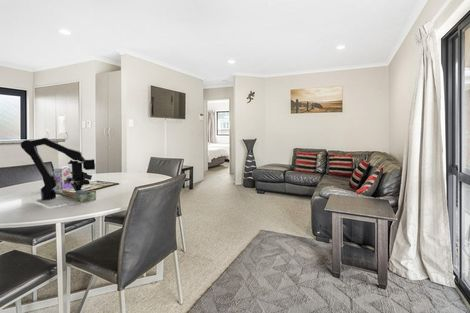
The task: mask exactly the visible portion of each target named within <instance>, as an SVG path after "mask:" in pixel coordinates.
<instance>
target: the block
mask: <svg viewBox="0 0 470 313" xmlns="http://www.w3.org/2000/svg"><path fill="white" fill-rule="evenodd" d="M87 190H88V189H83V190H78V191H75V192H76V194H79V195H86V194H88V191H87Z"/></svg>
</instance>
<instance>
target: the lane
mask: <svg viewBox="0 0 470 313" xmlns="http://www.w3.org/2000/svg"><path fill="white" fill-rule="evenodd" d="M61 190H62V195H63V196H65V197H69V198H72V199H75V200H76V201H77V202H78V203H86V202H91V201H96V200H97V196H96V195H97V191H96V190H95V189H86V190H87V191H88V194H86V195H79V194H76V191H75V192H72V191H69V190H66V189H61ZM81 190H84V189H82V188H81Z"/></svg>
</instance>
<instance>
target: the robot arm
mask: <svg viewBox="0 0 470 313" xmlns="http://www.w3.org/2000/svg"><path fill="white" fill-rule="evenodd" d="M43 145H44V146H47V147H49V148H52V149H54V150H55V151H58V152H60V153H63V154H64V155H66V156H67V157H68V158H70V160H69V162H67V164H68V165H71V166H72V172H71V174H72V177H69V178H67V179H66V182H70V181H72V183H71V185H72V188H73V189H74V191H75V192H76V191H78V190H81V189H82V187H83V186H85V185H86V186H87V185H90V182H91V180H92V177H93V175H91V174H88V173H87V172H84V171H83V169H84V170H85V171H90V170H91V171H93V170H94V171H95V170H96V163H95V159H92V158H91V159H86V158H84V157H83V154H82V152H81V151H80V150H76V149H73V148H69V147H66V146H64V145H62V144H61V143H60V144H59V143H58V142H55V141H53V140H51V139H49V137H43V138H39V139H33V140H32V139H26V140H25V139H24V140H22V142H21V143H20V147H21V149H22V150H23V151H24V152H25V153H26V154H27V155H29V156H30V158H31V160H32V162H33V164H34V165H35V166H36V168H37V171H38V172H39V174H40V175H41V177H42V182H43V184H44V186H42V187H41V188H40V197H41V198H40V199H41V200H42V201H47V200H54V199H57V193H56V190H54V188H55V186H56V185H57V184H58V181H57V180H58V179H57V178H56V176H55V174H54V173H53V174H52V173H50V171H49V169H48V168H47V165H46V164H45V163H44V161H43V159H42V157H41V155H40V154H39V151H38V147H39V146H43Z"/></svg>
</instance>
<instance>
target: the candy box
mask: <svg viewBox="0 0 470 313" xmlns="http://www.w3.org/2000/svg"><path fill="white" fill-rule="evenodd" d="M52 171H53V175H54V174H55V176H56V178H57V179H58V180H57V181H58V184H57V185H56V186H55V188H54V189H53V190H55V191H60V190H66V189H71V187H72V185H71V183H72V181H70V182H66V179H67V178H69V177H72V174H71V172H72V165H71V166H70V165H64V166H60V167H55V168H52ZM72 188H73V187H72Z"/></svg>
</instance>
